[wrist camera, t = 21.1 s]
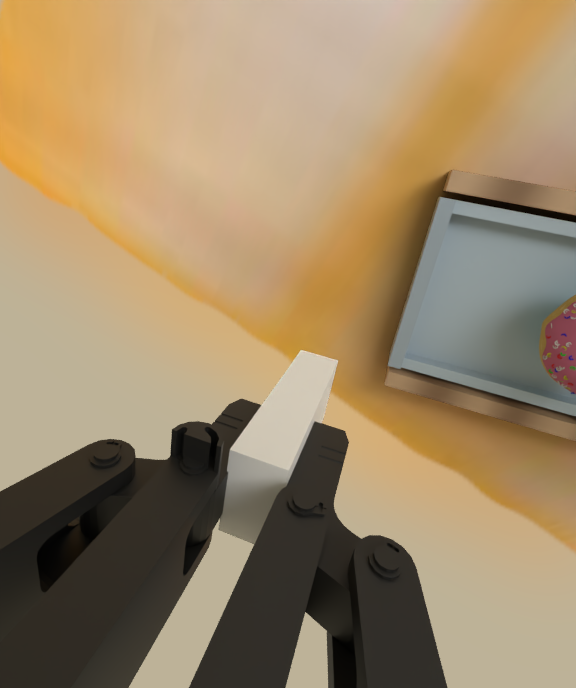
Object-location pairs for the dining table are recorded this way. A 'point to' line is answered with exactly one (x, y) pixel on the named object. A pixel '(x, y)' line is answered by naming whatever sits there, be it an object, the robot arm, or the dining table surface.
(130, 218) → the dining table surface
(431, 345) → the tray
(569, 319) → the cupcake
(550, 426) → the dock
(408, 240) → the dining table surface
